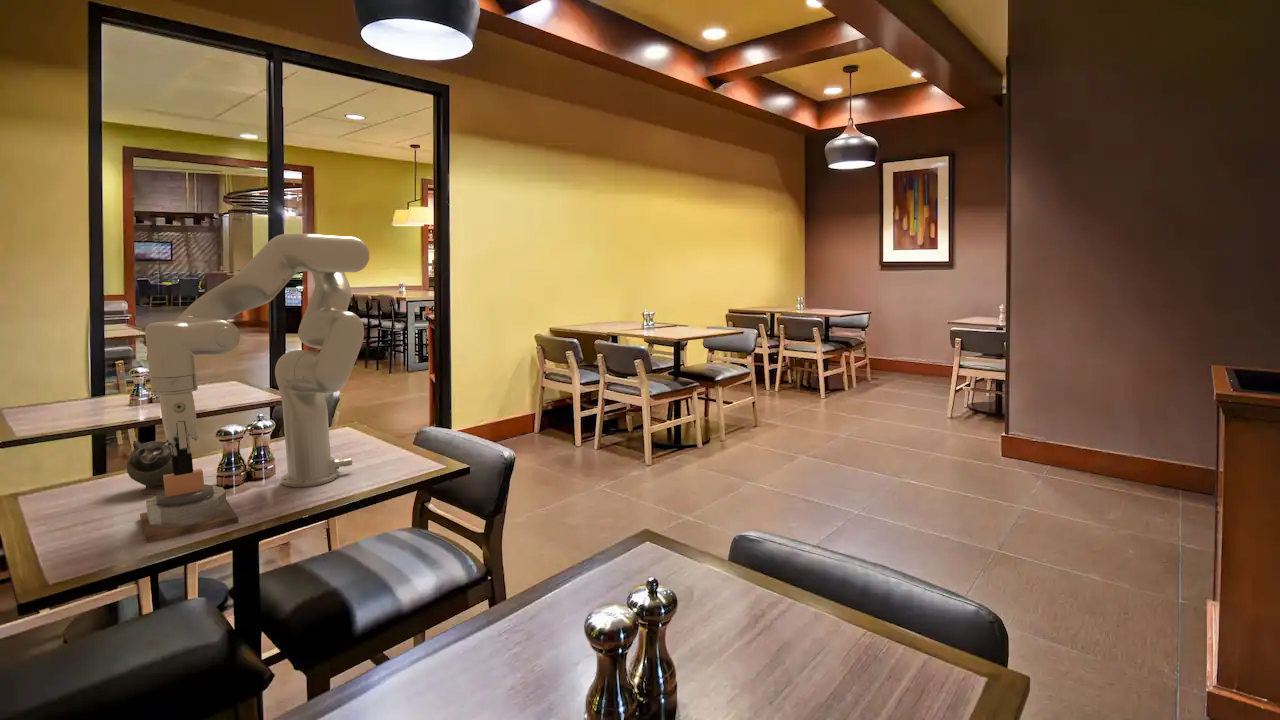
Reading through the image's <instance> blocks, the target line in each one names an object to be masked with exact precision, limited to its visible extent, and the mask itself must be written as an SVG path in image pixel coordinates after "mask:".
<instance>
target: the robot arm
mask: <svg viewBox="0 0 1280 720" xmlns="http://www.w3.org/2000/svg"><path fill="white" fill-rule="evenodd" d="M369 261H370V251H369V248H368V246H367V244H366V243H365V242H364V241H363V240H361V239H359V238H358V237H355V236H344V235H342V236H341V235H329V234H328V235H327V234H317V233H282V234H278V235H276V236H274V237H273V238H271V239H270V240H269V241H267V243H266V244H265V245H264V246H263V247H262V248H261V249H260V250H259V251H258V252H257V253H256V254H255V255H254V256H253V257H252V258H251V259H250V260H249V262H248V263H246V265H244V267H243V268H242V269H241V270H240V271H238V272H237V273H236V274H235V275H233V276H232V277H230V278H228V279H226V280H225V281H223V282H221V283H219V285H217V286H216V287H214V288H211V289H210V290H209V291H207V292H205V293H204V294H202V295H201V296H200V297H198V298H196V300H194V301H193V302H192V303H191V304H190V305H189V306H188V307H187V308H186V309H185V310H184V311H183V312H182V313H181V314H180V315H179V316H178V317H177V319H176V320H175V321H174V320H173V321H172V320H169V321H167V320H166V321H158V322H151V323H149V324H147V326H145V329H144V332H145V333H144V335H145V344H146V354H147V362H148V372H149V373H148V374H149V381H150V391H151V392H150V393H151V394H152V395H158V396H159V405H160V406H159V407H160V413H161V421H162V425H163V430H164V434H165V437H166V439H167V440H168V441H169V442H170V443H171V447H172V454H173V455H171V457H172V466H173V473H174V475H175V476H176V475H182V474H188V473H192V472H193V470H194V465H193V456H192V455H193V454H192V451H191V443H190V442H191V440H194V441H198V440H199V439H200V435H199V428H198V421H197V413H196V405H195V399H194V395H193V392H195V391H197V390H198V389H199V388H198V378H197V367H196V366H197V365H196V356H220V355H221V356H222V355H225V354H229V353H230V352H232V351H233V350H236V347H238V346H239V343H240V340H241V333H240V331H239V329H238V327H237V326H236V325H235V324H234V323H232V322H231V321H229V319H232V318H233V317H235V316H237V315H239V314H240V313H243V312H246V311H249V310H253V309H256V308H259V307H262V306H264V305H265V304H268V303H270V302H272V301H273V300H274V298H275V297H276V296H277V295H278V294H279V293H280V292H281V291H282V290H283V288H285V286H286V285H287V284H288V283H289V282H290V280H291V279H292V278H293V277H295V275H297V273H300V272H311V275H312V277H313V281H314V287H313V292H312V295H311V297H310V300H309V302H308V304H307V307H306V309H305V312H304V314H303V317H302V319H301V322H300V324H299V326H298V327H299V328H298V331H297V335H298V338H299V341H300V342H301V343H302V344H304V345H305V346H307V347H311V348H314V349H320V351H316V350H303V349H298V350H297V349H296V350H290V351H288V352H286V353H284V354H282V355H281V356H280V357H279V358H278V360H277V362H276V364H275V366H274V367H275V369H274V375H275V381H276V384H277V388H278V390H279V394H280V398H281V405H282V407H281V408H282V414H283V416H282V417H283V428H284V429H283V430H284V432H283V433H284V442H285V454H286V465H287V466H286V468H287V473H285V474H283V475H282V476H281V477H280V482H281V484H282V485H284V486H286V487H290V488H304V487H307V488H308V487H313V485H314V486H319V485H323V483H324V484H327V483H330V482H331V481H335V480H336V479H337V478H338V477H339V476H340V472H339V469H340V467H341V468H342V467H349V466H352V465H353V460H352V457H346V458H344V457H338V458H334V457H332V456H331V443H330V442H331V440H330V429H329V427H330V426H329V414H328V413H329V412H328V406H327V405H328V404H327V400H326V397H325V395H324V394H334V393H337V392H338V391H340V390H342V388H344V386H345V385H346V384H347V382H348V381H349V378H350V376H351V374H352V371H353V369H354V366H355V363H356V361H357V359H358V356H359V354H360V351H361V347H362V346H363V342H364V338H365V328H364V323H363V321H362V319H361V317H360V316H358V315H357V314H356V313H354V312H352V311H349V310H348V308H349V305H350V303H351V302H350V301H351V300H352V289H351V286H350V283H349V280H348V277H347V275H346V274H345V273H358V272H361V271H362V270H363V269H364V268H366V267H367V265H368V263H369ZM190 438H191V440H190ZM335 478H336V479H335ZM329 481H330V482H329ZM326 482H327V483H326Z"/></svg>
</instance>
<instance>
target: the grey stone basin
mask: <svg viewBox="0 0 1280 720" xmlns="http://www.w3.org/2000/svg"><path fill="white" fill-rule="evenodd" d="M212 486H213V490H214V493H213V495H211V496H210V497H208V498H206V499H203V500H200V501H197V502H193V503H188V504H182V505H171V506H168V505H160V504H158V503H157V502H156V496H157V495H158V494H155V495H154V496H153V497H151V498H150V499H149V500H147V501H146V502H145V506H146V512H147V515H148V521H149V525H150V526H151V527H156V528H162V529H165V528H180V527H186V526H191V525H196V524H200V523H204V522H207V521H209V520H212V519H215V518H217V517H220V516H221V515H222V514H223V513H224V512H226V511H227V501H228V500H227V501H226V499H227V493H226V490H225V489H224V487H223V486H216V485H212Z"/></svg>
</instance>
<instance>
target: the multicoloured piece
mask: <svg viewBox="0 0 1280 720" xmlns="http://www.w3.org/2000/svg"><path fill="white" fill-rule="evenodd" d="M163 478H164V487H165V491H163V492H161V493H159V494H156V495H157V496H156V495H155V496H156V502H157V503H158V504H160V505H168V506H171V505H182V504H188V503H193V502H197V501H200V500H203V499H206V498H208V497H210V496H211V495H213V493H214V490H213V486H214V485H210V484H206V483H205V480H204V479H205V478H204V471H203V469H202V468H199V469H193V472H192V473H188V474H182V475H176V476H175V475H174V473H173V474H167V475H163Z"/></svg>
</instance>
